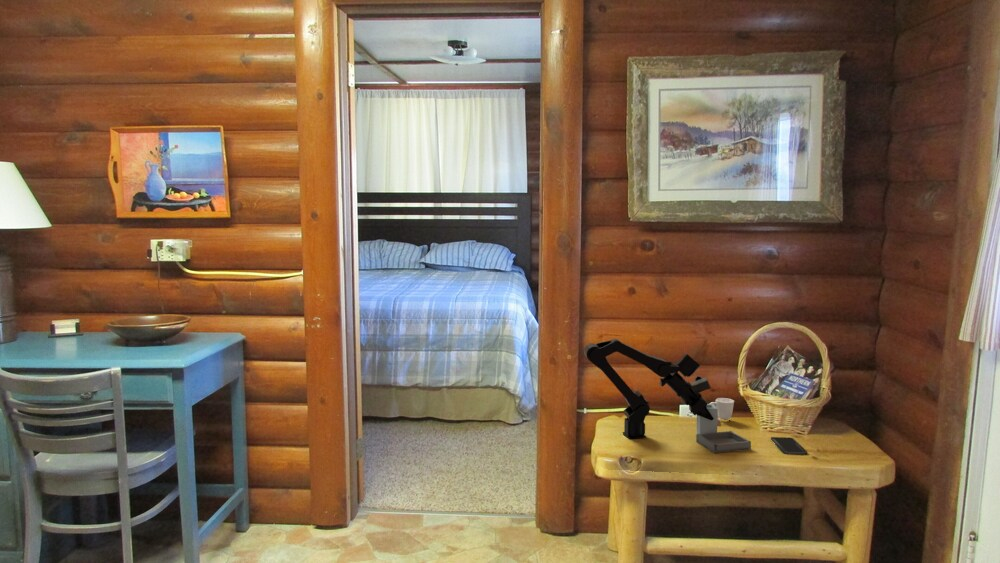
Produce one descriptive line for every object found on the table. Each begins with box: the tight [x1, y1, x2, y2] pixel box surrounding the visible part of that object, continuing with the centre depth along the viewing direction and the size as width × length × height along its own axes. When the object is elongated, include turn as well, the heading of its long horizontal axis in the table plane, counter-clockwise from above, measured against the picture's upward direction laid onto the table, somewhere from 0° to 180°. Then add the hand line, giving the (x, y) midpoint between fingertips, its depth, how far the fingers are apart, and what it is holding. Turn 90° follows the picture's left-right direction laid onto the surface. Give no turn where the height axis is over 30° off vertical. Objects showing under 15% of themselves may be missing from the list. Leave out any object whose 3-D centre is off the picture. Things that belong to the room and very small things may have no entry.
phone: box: [770, 436, 808, 456], centre depth 222 cm, size 8×1×15 cm
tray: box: [695, 430, 752, 454], centre depth 223 cm, size 14×12×3 cm
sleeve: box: [696, 403, 722, 435], centre depth 233 cm, size 8×6×11 cm
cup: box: [709, 397, 735, 420], centre depth 251 cm, size 7×10×8 cm
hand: (711, 416), depth 233 cm, fingers closed on sleeve, 6 cm apart
